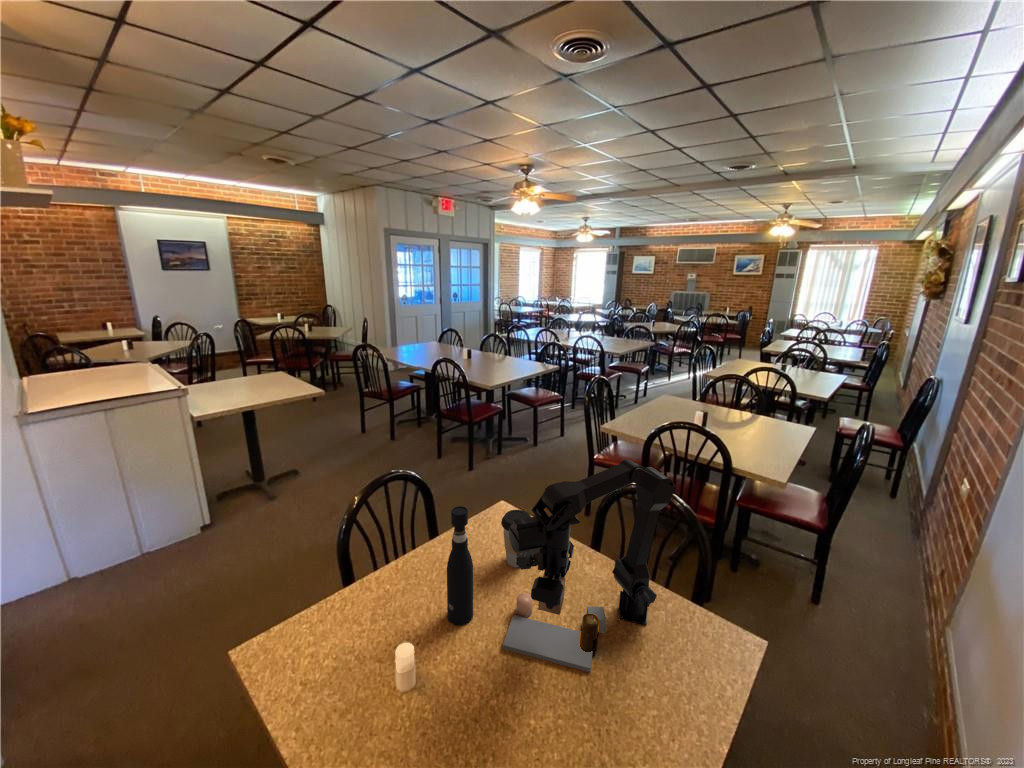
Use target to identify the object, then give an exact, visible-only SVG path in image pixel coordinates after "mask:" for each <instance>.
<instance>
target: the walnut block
mask: <svg viewBox="0 0 1024 768" xmlns="http://www.w3.org/2000/svg"><path fill="white" fill-rule="evenodd" d="M548 576H549V575H548ZM548 576H544V575H543V576H542V577H544V578H548ZM554 578H555V576H554ZM559 580H561V584H562V585H563V586H564V591H563V595H562V599H561V603H560V605H558V606H555V605H554V607H553V608H552V609H548V608H547V607H546V603H544V602H540V601H538V605H537V606H538V607H537V609H538V610H540V611H542V612H543V611H544V612H547V613H551V614H555V615H558V616H560V615H561V612H562V609H563V608H562V607H563V603H564V600H565V589H566V576H565V577H561V576H560V579H559Z"/></svg>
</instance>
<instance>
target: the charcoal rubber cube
mask: <svg viewBox="0 0 1024 768" xmlns="http://www.w3.org/2000/svg"><path fill="white" fill-rule="evenodd" d="M587 614H594V615H596V616H597V617H598V619H599V633H598V634H606V629H607V616H606V612H605V609H604V606H591V605H589V606H586V615H587Z"/></svg>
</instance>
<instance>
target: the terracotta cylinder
mask: <svg viewBox="0 0 1024 768" xmlns="http://www.w3.org/2000/svg"><path fill="white" fill-rule="evenodd" d="M515 609H516V610H515V613H516V616H520V617H524V618H528V619H529V617H531V616H532V613H533V599H532V598H531V594H529V593H527V592H523V593H522V592H521V593H519V594H518V595H517V596H516V608H515Z"/></svg>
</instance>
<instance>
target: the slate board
mask: <svg viewBox="0 0 1024 768" xmlns="http://www.w3.org/2000/svg"><path fill="white" fill-rule="evenodd" d="M580 632H581V631H580V630H576V629H572V628H567V627H563V626H559V625H555V624H552V623H547V622H543V621H539V620H535V619H532V618H529V617H528V618H524V617H520V616H518V615H517V614H516V615H515V614H513V615H512V617H511V621H510V623H509V626H508V630H507V633H506V635H505V637H504V640H503V643H502V649H503V650H505V651H508V652H512V653H517V654H520V655H525V656H527V657H531V658H534V659H538V660H543V661H546V662H549V663H553V664H557V665H561V666H564V667H568V668H571V669H575V670H579V671H583V672H586V673H591V668H592V660H593V659H592V658H593V652H594V650H593V651H591V652H585V651H583V650H582V649H581V647H580Z"/></svg>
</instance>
